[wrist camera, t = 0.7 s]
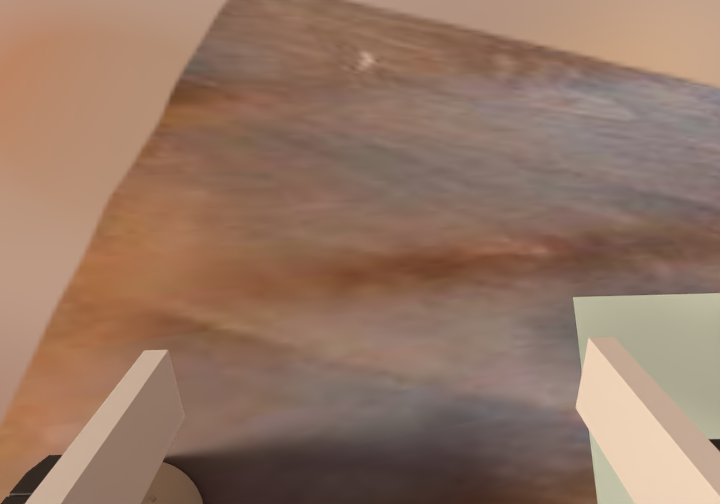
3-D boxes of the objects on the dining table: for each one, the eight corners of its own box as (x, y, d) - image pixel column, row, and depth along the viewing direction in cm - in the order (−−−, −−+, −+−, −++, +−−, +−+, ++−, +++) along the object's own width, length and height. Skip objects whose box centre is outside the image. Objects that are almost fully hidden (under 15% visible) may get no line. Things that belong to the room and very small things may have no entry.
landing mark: (799, 497, 30) (802, 498, 30) (597, 505, 30) (599, 506, 30) (758, 292, 33) (761, 291, 33) (572, 297, 32) (574, 297, 32)
